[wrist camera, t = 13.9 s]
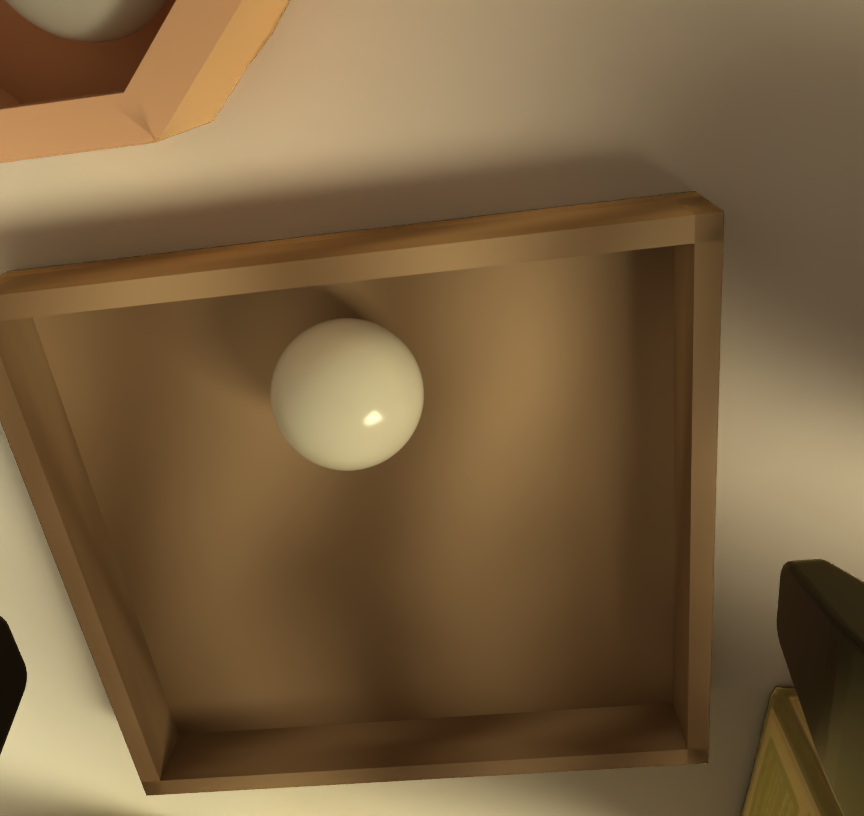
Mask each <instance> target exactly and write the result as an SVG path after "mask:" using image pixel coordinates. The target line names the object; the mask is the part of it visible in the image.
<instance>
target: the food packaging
mask: <svg viewBox="0 0 864 816" xmlns="http://www.w3.org/2000/svg"><path fill="white" fill-rule="evenodd" d="M741 816H843V813H842V811H841V809H840V807H839V805H838V803H837V801H836V799H835V796H834V794H833V792H832V790H831V787H830V785H829V783H828V780H827V778H826V776H825V774H824V771H823V768H822V766H821V763H820V760H819V757H818V755H817V752H816V749H815V746H814V743H813V740H812V737H811V734H810V731H809V728H808V725H807V722H806V719H805V716H804V713H803V710H802V707H801V704H800V701H799V698H798V695H797V692H796V690H795V688H780V687H776V689H775V690H774V691H773V693H772V694H771V696H770V701H769V705H768V709H767V713H766V717H765V721H764V725H763V729H762V734H761V738H760V743H759V747H758V751H757V755H756V760H755V764H754V768H753V772H752V776H751V780H750V784H749V788H748V792H747V795H746V799H745V803H744V806H743V810H742V814H741Z"/></svg>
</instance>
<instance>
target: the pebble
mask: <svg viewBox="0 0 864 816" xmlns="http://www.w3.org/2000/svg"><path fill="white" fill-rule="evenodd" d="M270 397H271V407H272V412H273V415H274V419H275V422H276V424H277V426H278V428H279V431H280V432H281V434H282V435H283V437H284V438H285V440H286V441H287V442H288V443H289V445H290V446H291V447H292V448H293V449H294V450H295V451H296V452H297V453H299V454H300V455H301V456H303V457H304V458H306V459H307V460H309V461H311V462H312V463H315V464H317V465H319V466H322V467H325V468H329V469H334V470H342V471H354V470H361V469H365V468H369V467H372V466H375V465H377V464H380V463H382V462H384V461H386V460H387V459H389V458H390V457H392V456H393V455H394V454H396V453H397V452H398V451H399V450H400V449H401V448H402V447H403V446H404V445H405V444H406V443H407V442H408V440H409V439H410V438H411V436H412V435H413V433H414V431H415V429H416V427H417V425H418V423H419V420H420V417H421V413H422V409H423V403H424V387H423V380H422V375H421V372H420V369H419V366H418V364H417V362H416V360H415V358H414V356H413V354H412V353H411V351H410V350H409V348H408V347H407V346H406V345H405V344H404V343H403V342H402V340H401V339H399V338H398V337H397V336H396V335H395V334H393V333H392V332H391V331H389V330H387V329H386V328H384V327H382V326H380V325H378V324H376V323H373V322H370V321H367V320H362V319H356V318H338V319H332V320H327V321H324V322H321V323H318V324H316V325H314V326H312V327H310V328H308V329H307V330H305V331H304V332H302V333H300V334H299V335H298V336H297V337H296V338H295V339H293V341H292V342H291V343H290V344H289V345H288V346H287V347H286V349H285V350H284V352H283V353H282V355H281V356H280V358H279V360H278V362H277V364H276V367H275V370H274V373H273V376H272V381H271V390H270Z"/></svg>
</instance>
